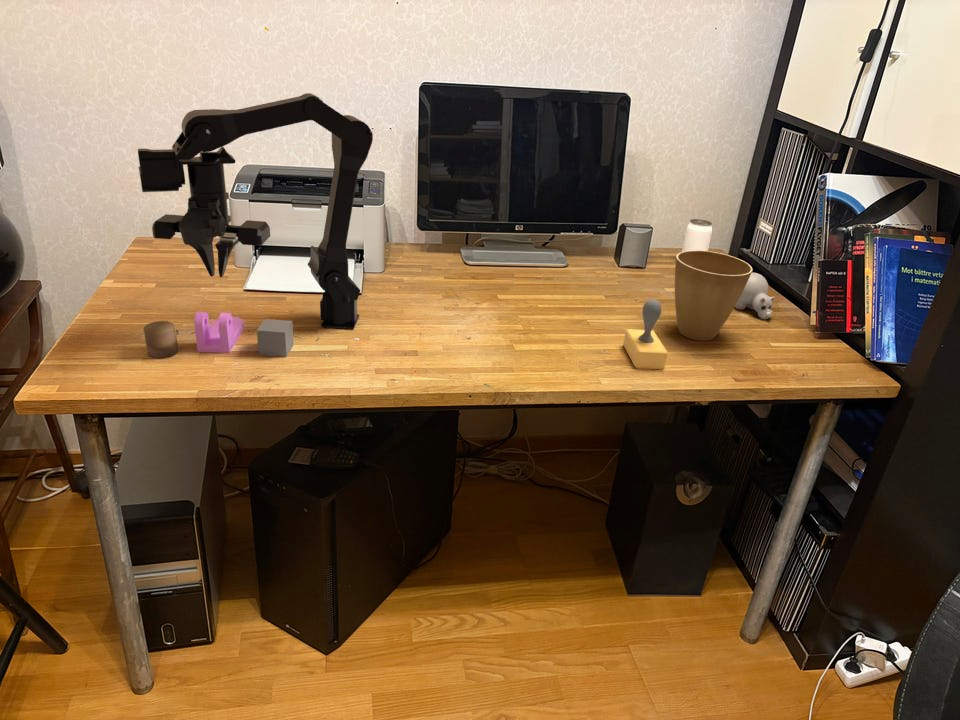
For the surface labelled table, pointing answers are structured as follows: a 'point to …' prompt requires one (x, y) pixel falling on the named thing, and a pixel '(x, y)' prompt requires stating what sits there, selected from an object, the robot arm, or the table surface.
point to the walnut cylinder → (161, 339)
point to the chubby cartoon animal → (756, 296)
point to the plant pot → (707, 291)
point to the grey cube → (275, 338)
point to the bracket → (217, 332)
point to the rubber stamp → (646, 340)
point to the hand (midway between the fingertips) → (217, 276)
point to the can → (697, 235)
